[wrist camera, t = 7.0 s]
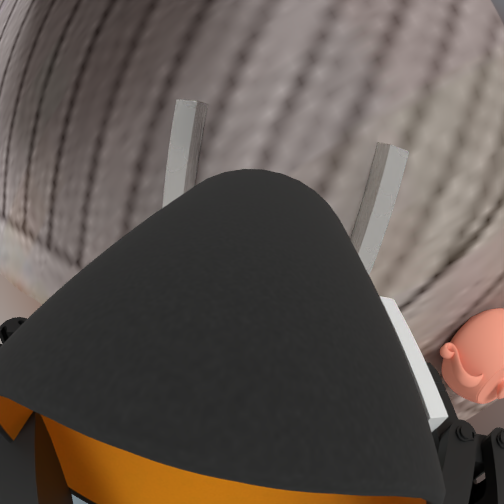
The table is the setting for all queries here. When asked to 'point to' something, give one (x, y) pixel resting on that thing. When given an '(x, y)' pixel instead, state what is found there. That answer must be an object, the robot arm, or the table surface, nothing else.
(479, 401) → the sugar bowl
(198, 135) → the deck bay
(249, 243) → the mug
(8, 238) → the table surface
